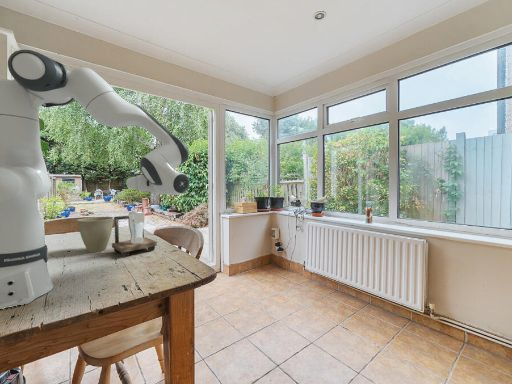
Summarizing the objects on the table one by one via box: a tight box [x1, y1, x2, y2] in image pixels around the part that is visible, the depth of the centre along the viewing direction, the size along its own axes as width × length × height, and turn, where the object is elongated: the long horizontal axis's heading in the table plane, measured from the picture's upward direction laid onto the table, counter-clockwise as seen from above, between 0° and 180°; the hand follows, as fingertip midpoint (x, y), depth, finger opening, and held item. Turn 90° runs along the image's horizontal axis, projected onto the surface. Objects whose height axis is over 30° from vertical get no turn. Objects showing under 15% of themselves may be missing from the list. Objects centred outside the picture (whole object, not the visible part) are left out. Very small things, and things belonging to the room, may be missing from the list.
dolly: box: [111, 215, 158, 258], centre depth 113 cm, size 16×13×17 cm
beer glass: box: [127, 211, 145, 244], centre depth 112 cm, size 7×7×15 cm
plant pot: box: [76, 216, 115, 253], centre depth 115 cm, size 15×15×16 cm
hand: (146, 183), depth 102 cm, fingers open, 8 cm apart
